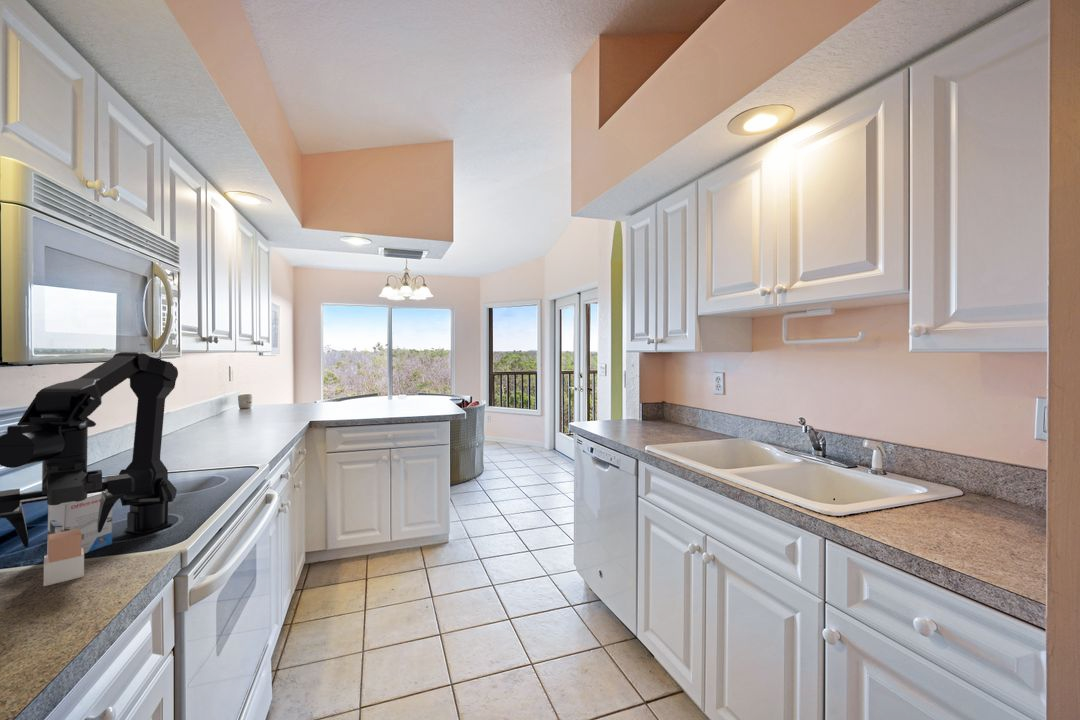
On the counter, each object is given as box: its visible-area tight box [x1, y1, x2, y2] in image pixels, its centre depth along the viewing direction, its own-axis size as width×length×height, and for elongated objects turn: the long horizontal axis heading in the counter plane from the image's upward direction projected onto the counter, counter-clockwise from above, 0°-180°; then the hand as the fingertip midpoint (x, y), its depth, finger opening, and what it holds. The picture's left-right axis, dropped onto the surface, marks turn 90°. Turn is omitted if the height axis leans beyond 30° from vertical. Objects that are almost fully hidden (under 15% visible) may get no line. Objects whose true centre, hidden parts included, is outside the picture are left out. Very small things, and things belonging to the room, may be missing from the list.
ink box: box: [46, 492, 114, 555], centre depth 93 cm, size 9×5×12 cm, turn 168°
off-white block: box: [43, 548, 85, 587], centre depth 83 cm, size 5×5×4 cm
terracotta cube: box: [47, 529, 82, 563], centre depth 83 cm, size 4×4×4 cm
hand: (64, 539), depth 83 cm, fingers open, 9 cm apart
